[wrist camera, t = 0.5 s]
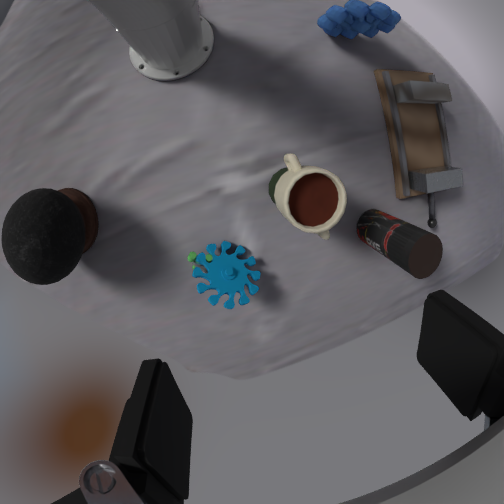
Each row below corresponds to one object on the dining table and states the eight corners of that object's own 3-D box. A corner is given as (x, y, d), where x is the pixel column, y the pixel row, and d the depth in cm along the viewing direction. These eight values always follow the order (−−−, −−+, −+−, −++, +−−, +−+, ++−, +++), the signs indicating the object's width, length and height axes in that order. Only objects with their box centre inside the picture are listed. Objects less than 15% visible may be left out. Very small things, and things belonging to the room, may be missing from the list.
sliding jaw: (406, 170, 41) (426, 174, 36) (442, 165, 41) (461, 168, 36) (411, 231, 44) (429, 240, 39) (445, 221, 45) (463, 229, 40)
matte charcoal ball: (114, 198, 39) (66, 221, 25) (93, 272, 42) (51, 318, 28) (50, 171, 36) (-9, 182, 22) (34, 242, 39) (-17, 275, 25)
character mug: (323, 210, 43) (361, 231, 31) (282, 230, 43) (306, 260, 31) (294, 144, 39) (325, 140, 27) (250, 165, 40) (264, 168, 27)
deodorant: (350, 229, 44) (400, 261, 30) (372, 201, 43) (429, 223, 29) (371, 250, 46) (422, 287, 32) (392, 224, 45) (448, 252, 31)
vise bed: (373, 70, 36) (394, 61, 30) (429, 74, 36) (451, 68, 30) (396, 197, 43) (418, 204, 37) (447, 187, 44) (470, 193, 38)
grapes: (368, 17, 33) (404, -9, 21) (377, 49, 35) (417, 28, 23) (305, 10, 32) (330, -26, 21) (312, 43, 34) (342, 12, 23)
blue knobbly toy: (272, 262, 43) (245, 320, 38) (257, 275, 48) (231, 327, 43) (209, 223, 42) (173, 277, 36) (200, 240, 47) (168, 289, 41)
